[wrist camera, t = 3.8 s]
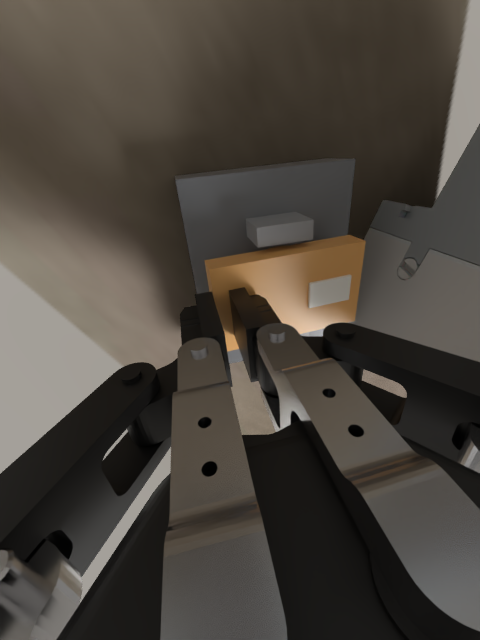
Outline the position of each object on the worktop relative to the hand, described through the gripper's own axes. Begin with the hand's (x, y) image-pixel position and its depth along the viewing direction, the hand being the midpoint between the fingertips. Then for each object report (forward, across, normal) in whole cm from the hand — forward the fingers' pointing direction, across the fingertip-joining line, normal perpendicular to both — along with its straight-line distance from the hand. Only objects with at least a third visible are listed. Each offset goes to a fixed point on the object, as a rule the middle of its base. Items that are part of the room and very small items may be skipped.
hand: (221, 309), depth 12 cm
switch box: (+5, -3, 0) cm, 6 cm away
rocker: (+1, -3, 0) cm, 3 cm away
